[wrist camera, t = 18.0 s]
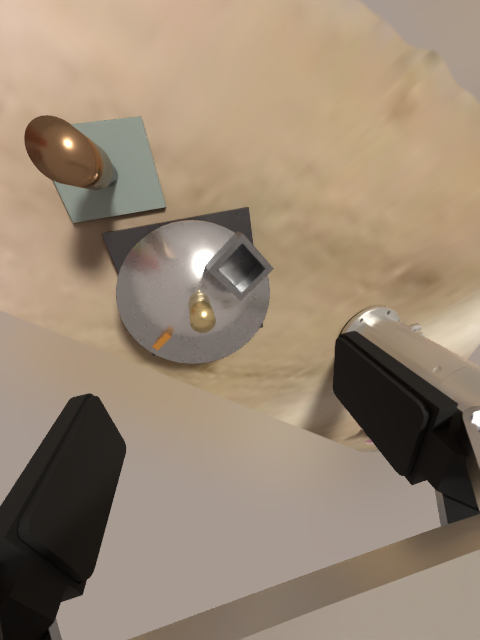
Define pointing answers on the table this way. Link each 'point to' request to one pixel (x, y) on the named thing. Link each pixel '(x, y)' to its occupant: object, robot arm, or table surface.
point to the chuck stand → (128, 238)
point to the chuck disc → (193, 291)
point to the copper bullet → (68, 154)
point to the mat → (132, 167)
